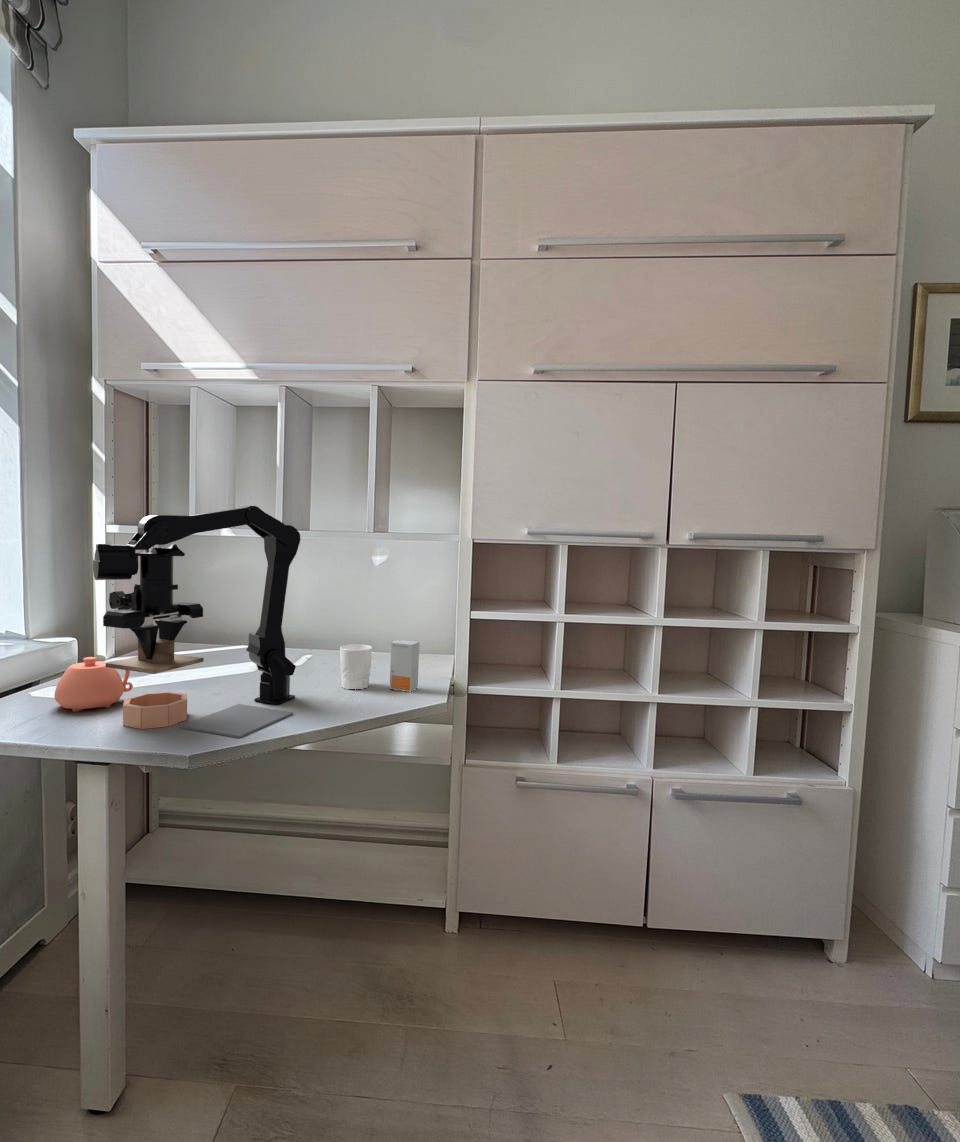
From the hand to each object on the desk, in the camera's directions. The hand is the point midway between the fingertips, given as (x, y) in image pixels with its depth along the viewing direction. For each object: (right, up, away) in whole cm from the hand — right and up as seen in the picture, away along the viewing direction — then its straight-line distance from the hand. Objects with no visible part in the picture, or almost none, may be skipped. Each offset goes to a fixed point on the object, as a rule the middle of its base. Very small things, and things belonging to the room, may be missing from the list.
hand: (156, 657), depth 116 cm
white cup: (+33, -12, +31) cm, 47 cm away
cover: (0, -1, 0) cm, 1 cm away
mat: (+16, -13, +2) cm, 20 cm away
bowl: (0, -12, +1) cm, 12 cm away
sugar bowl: (-18, -12, +9) cm, 23 cm away
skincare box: (+45, -13, +30) cm, 55 cm away
